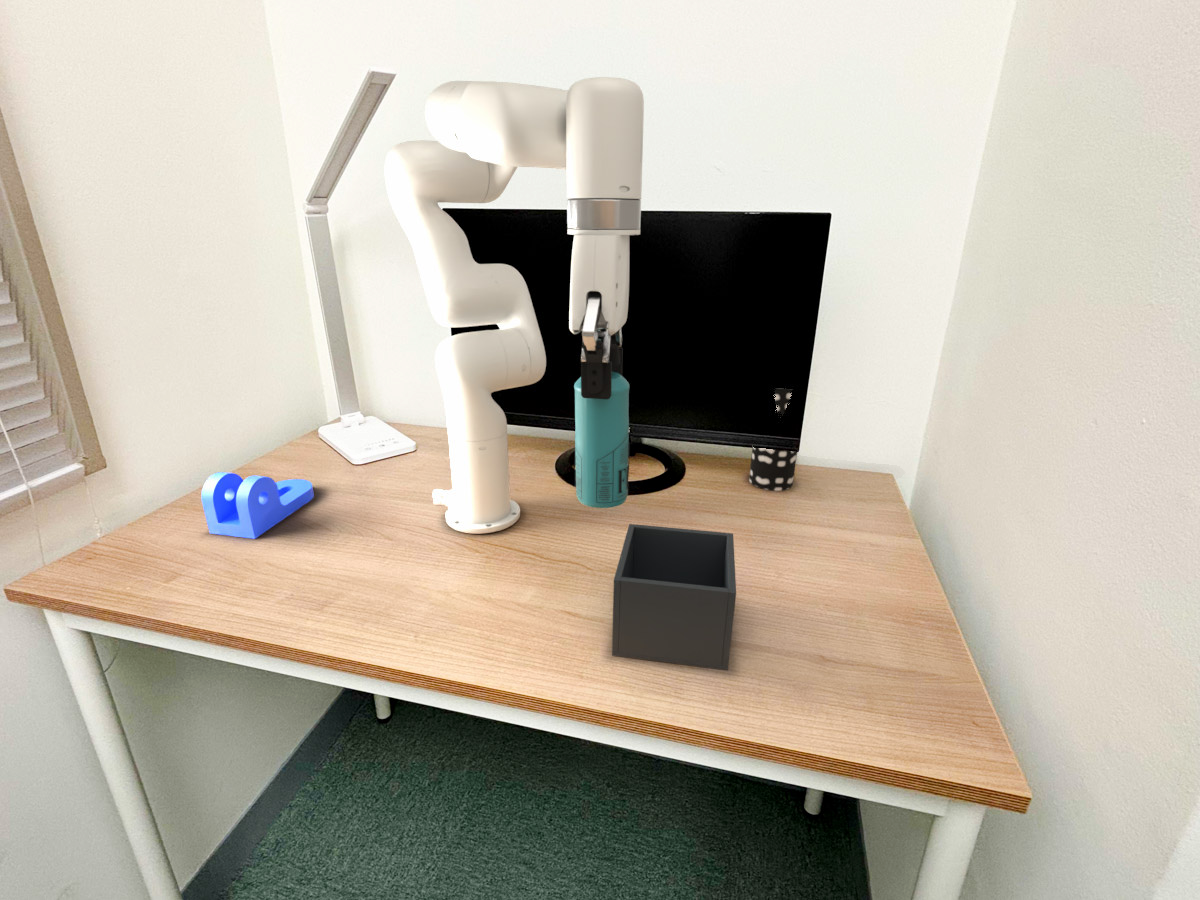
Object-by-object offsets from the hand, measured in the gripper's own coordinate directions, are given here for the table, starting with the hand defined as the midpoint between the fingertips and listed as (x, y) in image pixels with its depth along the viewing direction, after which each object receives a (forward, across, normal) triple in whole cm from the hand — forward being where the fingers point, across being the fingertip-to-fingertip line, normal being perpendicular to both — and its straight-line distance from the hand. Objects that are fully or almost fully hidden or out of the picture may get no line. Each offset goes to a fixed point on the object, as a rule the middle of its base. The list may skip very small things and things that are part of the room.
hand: (602, 387), depth 69 cm
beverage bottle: (+15, 0, 0) cm, 15 cm away
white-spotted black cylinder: (+31, -49, +25) cm, 63 cm away
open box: (+31, 0, +9) cm, 32 cm away
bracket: (+31, -18, -62) cm, 71 cm away
